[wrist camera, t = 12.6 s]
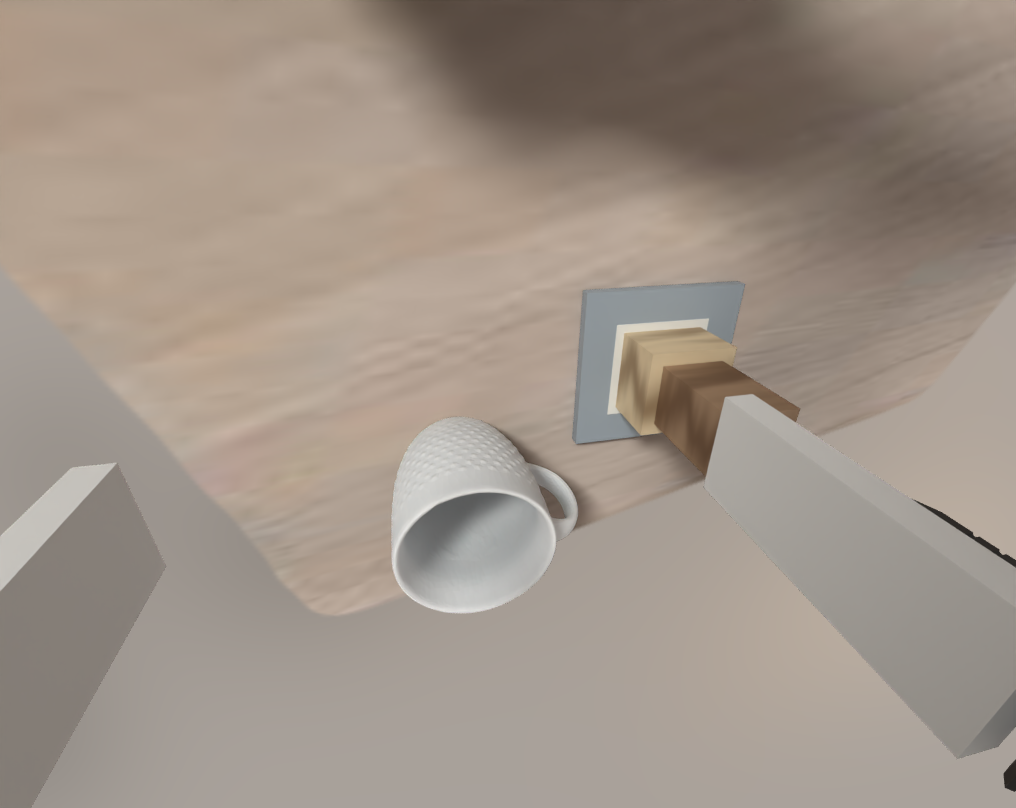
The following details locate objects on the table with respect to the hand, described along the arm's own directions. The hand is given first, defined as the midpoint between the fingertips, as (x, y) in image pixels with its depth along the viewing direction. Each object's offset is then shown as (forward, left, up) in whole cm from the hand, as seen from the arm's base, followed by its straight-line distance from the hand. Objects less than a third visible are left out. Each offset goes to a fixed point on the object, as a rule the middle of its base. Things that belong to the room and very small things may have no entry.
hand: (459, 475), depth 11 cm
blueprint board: (+10, +20, -27) cm, 35 cm away
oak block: (+10, +20, -26) cm, 34 cm away
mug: (+17, +3, -27) cm, 32 cm away
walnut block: (+10, +20, -21) cm, 30 cm away
